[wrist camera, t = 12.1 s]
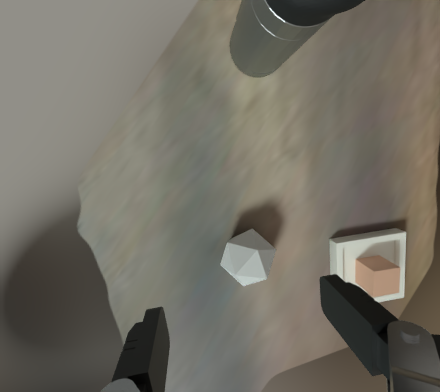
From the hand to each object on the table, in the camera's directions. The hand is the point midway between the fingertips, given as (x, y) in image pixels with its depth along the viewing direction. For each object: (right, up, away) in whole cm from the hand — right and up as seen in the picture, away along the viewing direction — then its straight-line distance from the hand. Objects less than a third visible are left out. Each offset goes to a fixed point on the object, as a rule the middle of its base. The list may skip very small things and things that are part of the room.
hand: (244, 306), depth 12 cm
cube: (+28, -9, +36) cm, 47 cm away
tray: (+28, -9, +37) cm, 47 cm away
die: (+3, -4, +34) cm, 34 cm away
